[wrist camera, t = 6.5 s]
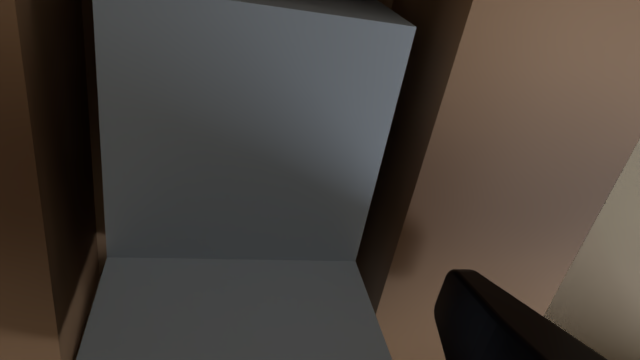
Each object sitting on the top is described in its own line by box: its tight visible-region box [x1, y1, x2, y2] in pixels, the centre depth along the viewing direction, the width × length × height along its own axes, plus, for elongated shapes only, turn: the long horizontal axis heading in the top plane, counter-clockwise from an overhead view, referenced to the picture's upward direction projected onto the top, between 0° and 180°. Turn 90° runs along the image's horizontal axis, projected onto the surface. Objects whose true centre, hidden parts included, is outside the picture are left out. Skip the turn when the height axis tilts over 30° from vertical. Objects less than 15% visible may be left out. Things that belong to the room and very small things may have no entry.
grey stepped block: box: [76, 0, 416, 360], centre depth 7 cm, size 6×4×7 cm, turn 170°
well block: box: [0, 0, 640, 360], centre depth 9 cm, size 16×13×4 cm
